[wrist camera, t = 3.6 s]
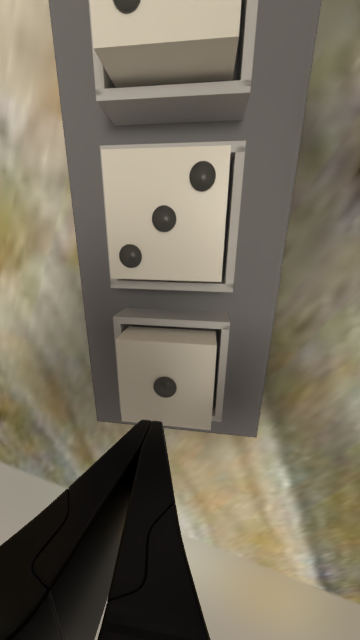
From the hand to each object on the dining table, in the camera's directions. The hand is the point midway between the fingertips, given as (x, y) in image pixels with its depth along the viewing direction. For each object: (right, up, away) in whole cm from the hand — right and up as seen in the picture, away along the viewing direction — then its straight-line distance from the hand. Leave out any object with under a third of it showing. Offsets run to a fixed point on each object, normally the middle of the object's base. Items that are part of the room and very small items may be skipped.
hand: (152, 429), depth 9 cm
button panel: (+1, +10, +5) cm, 11 cm away
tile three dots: (+1, +9, +2) cm, 9 cm away
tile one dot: (+1, +1, +5) cm, 5 cm away
